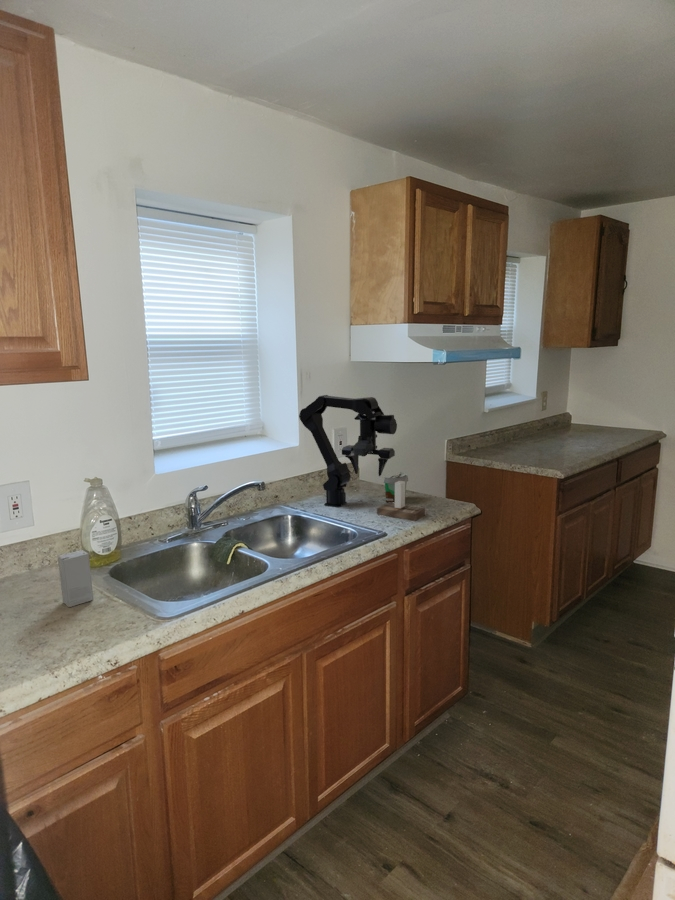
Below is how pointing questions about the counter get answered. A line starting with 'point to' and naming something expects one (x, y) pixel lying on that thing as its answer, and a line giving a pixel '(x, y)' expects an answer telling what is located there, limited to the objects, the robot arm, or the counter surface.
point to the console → (401, 512)
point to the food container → (393, 485)
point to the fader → (399, 494)
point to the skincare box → (75, 578)
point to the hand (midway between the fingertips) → (368, 474)
